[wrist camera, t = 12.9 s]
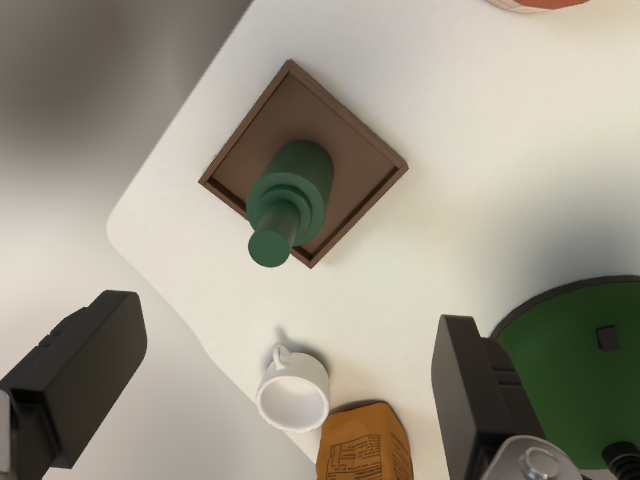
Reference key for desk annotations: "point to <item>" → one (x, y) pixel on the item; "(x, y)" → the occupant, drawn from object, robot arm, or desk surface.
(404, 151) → the desk surface
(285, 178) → the bottle
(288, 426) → the teacup
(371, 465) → the coffee package
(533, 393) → the desk lamp
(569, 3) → the bowl
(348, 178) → the tray
